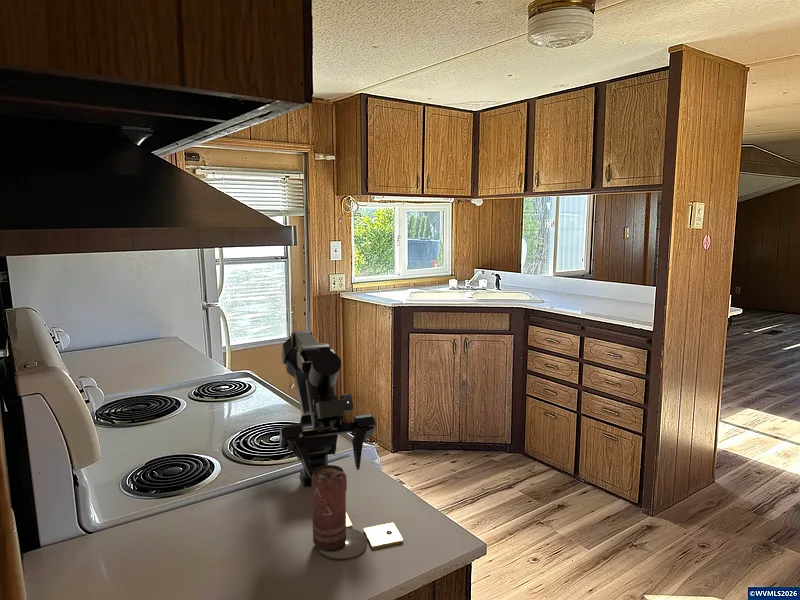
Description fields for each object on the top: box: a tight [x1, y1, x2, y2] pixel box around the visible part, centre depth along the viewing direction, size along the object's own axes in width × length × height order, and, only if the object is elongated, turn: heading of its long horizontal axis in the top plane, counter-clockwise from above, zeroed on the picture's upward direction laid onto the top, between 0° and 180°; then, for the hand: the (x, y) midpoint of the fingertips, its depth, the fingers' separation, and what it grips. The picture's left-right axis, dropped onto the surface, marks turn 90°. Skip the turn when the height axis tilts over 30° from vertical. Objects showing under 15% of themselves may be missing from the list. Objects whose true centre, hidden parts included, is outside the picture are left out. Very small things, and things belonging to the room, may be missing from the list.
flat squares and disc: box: [318, 511, 404, 561], centre depth 106 cm, size 15×15×1 cm
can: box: [311, 464, 348, 551], centre depth 101 cm, size 6×6×14 cm
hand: (335, 473), depth 105 cm, fingers open, 9 cm apart
